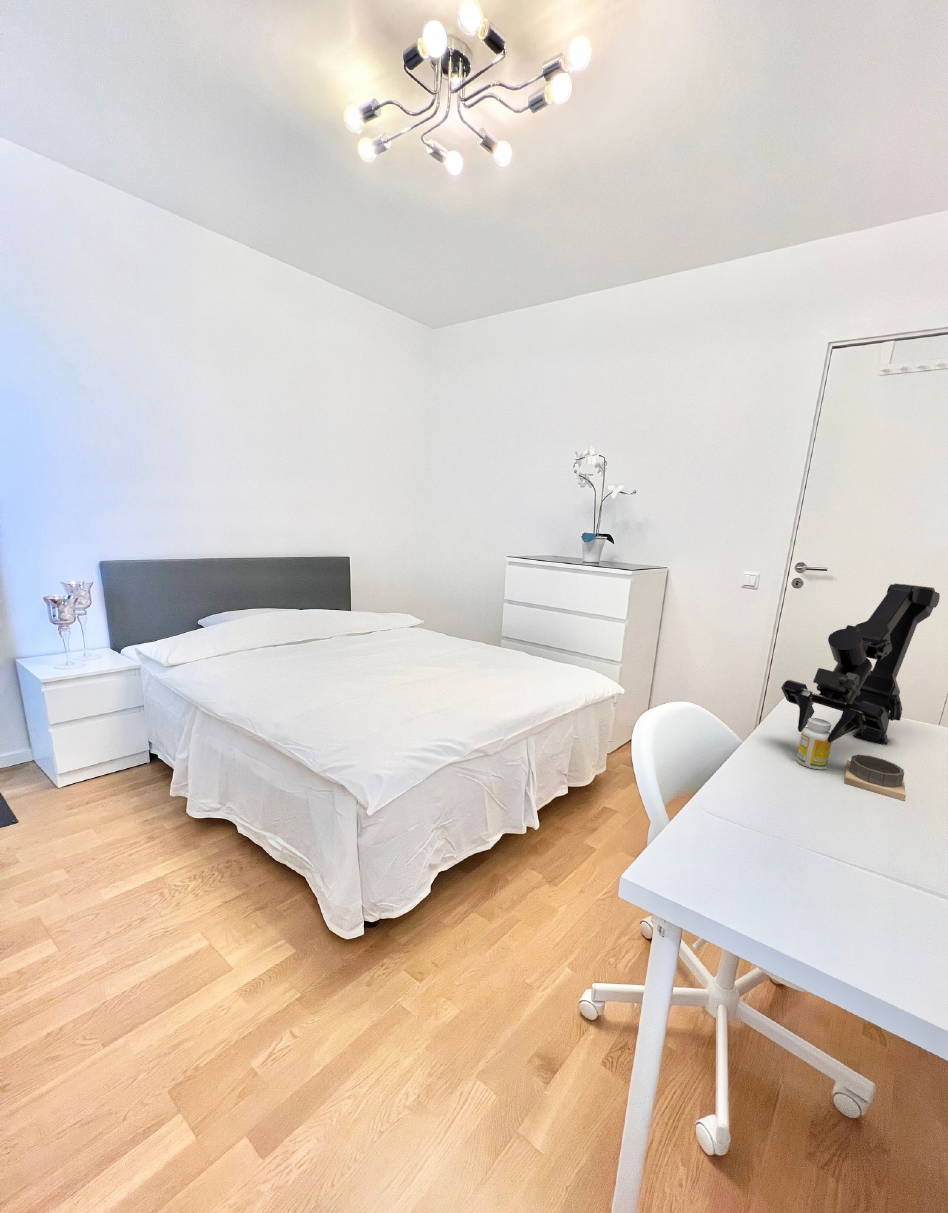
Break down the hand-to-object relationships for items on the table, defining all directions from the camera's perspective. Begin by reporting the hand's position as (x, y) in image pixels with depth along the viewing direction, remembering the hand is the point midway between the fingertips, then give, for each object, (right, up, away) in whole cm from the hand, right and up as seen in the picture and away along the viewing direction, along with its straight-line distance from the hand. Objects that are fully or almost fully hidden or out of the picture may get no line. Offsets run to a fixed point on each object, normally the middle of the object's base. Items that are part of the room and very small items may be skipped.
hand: (813, 735), depth 106 cm
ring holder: (+9, -8, -4) cm, 13 cm away
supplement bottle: (+1, -7, +2) cm, 7 cm away
